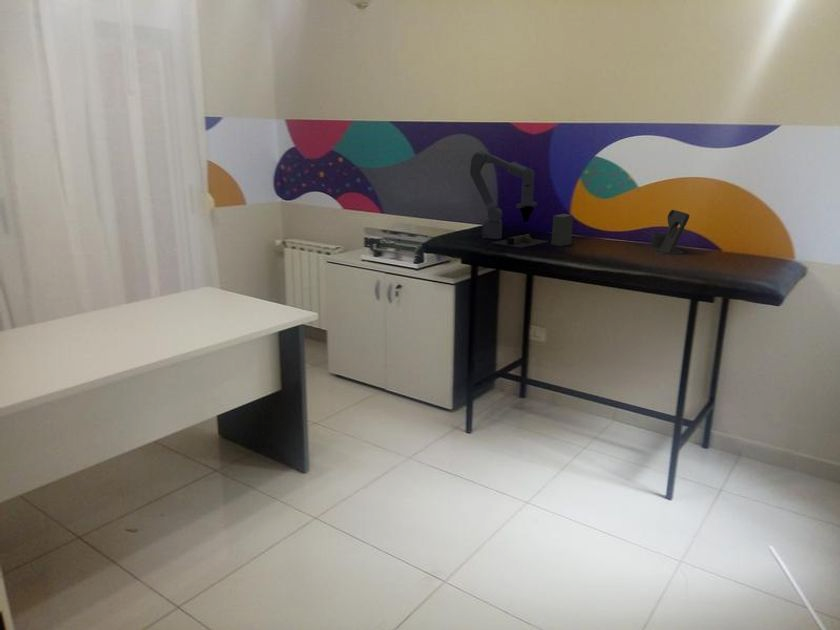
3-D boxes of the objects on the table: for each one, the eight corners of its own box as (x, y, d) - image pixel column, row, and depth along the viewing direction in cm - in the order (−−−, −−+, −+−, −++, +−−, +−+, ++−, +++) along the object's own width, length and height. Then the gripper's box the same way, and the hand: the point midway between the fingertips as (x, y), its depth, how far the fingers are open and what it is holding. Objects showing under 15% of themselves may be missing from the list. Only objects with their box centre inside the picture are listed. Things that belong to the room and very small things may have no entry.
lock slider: (523, 241, 295) (524, 237, 295) (527, 241, 297) (527, 236, 297) (527, 242, 294) (528, 237, 293) (531, 241, 296) (531, 237, 295)
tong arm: (509, 244, 289) (509, 238, 288) (524, 240, 298) (525, 235, 297) (511, 244, 288) (511, 238, 288) (526, 241, 297) (526, 235, 297)
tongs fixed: (506, 244, 290) (506, 237, 289) (526, 240, 301) (526, 233, 301) (510, 245, 289) (511, 238, 288) (530, 240, 300) (530, 234, 299)
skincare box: (561, 244, 296) (563, 213, 292) (571, 246, 292) (574, 214, 287) (550, 246, 291) (552, 214, 287) (560, 247, 286) (562, 216, 282)
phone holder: (648, 247, 290) (653, 209, 285) (669, 247, 290) (674, 209, 285) (664, 254, 273) (669, 214, 268) (686, 254, 274) (692, 214, 269)
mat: (490, 244, 295) (490, 242, 294) (519, 238, 311) (519, 236, 311) (520, 249, 283) (520, 247, 282) (549, 242, 299) (549, 241, 299)
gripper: (525, 195, 291) (523, 224, 295) (542, 193, 301) (540, 221, 305) (513, 194, 296) (512, 222, 300) (530, 192, 306) (529, 219, 310)
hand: (525, 221), depth 303 cm, fingers closed
